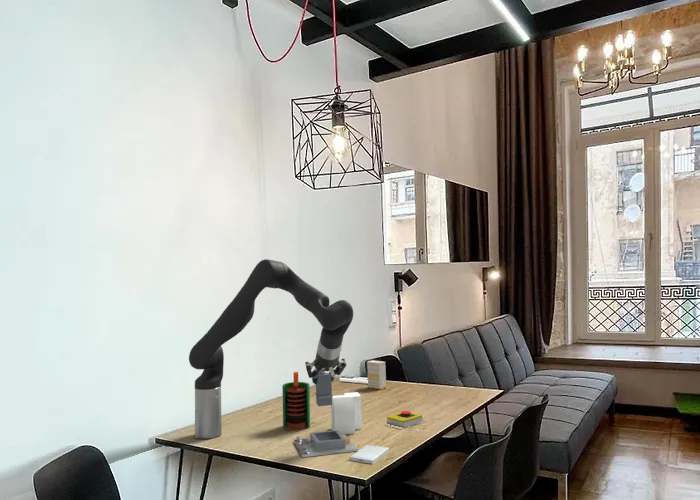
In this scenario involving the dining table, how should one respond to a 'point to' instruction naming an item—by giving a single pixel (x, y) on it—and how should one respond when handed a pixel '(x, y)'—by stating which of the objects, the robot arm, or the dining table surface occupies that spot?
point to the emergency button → (404, 419)
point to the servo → (324, 389)
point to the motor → (296, 404)
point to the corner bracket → (346, 413)
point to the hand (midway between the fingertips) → (322, 381)
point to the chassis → (324, 444)
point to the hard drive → (369, 454)
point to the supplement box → (376, 374)
